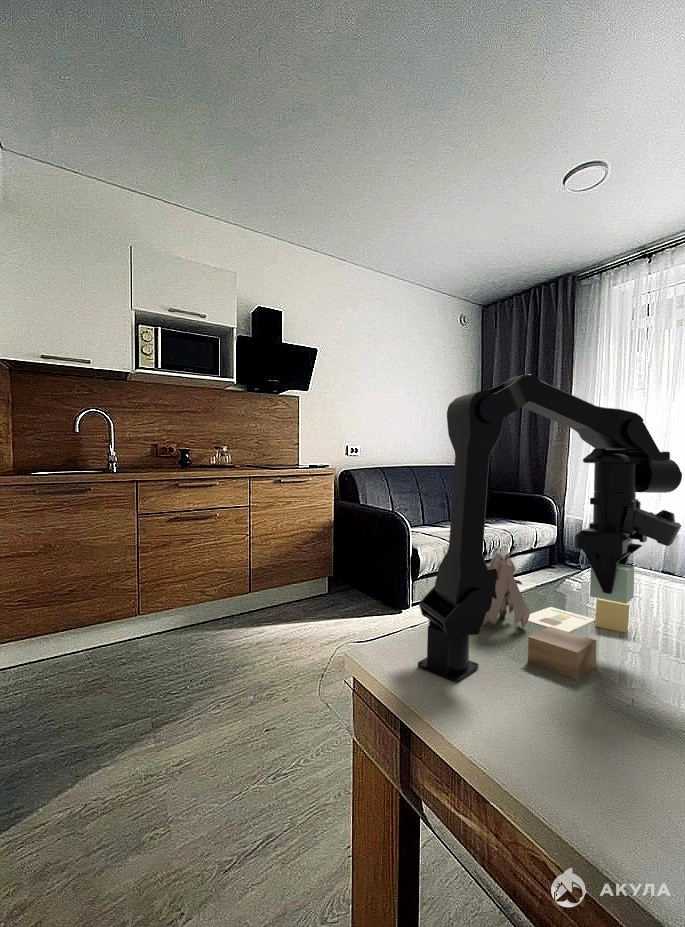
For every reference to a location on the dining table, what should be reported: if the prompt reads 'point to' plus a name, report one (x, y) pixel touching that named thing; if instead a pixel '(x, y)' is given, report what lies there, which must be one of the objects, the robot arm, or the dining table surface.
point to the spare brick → (612, 615)
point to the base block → (562, 651)
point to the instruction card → (559, 619)
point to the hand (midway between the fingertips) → (611, 590)
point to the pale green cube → (615, 585)
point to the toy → (506, 592)
